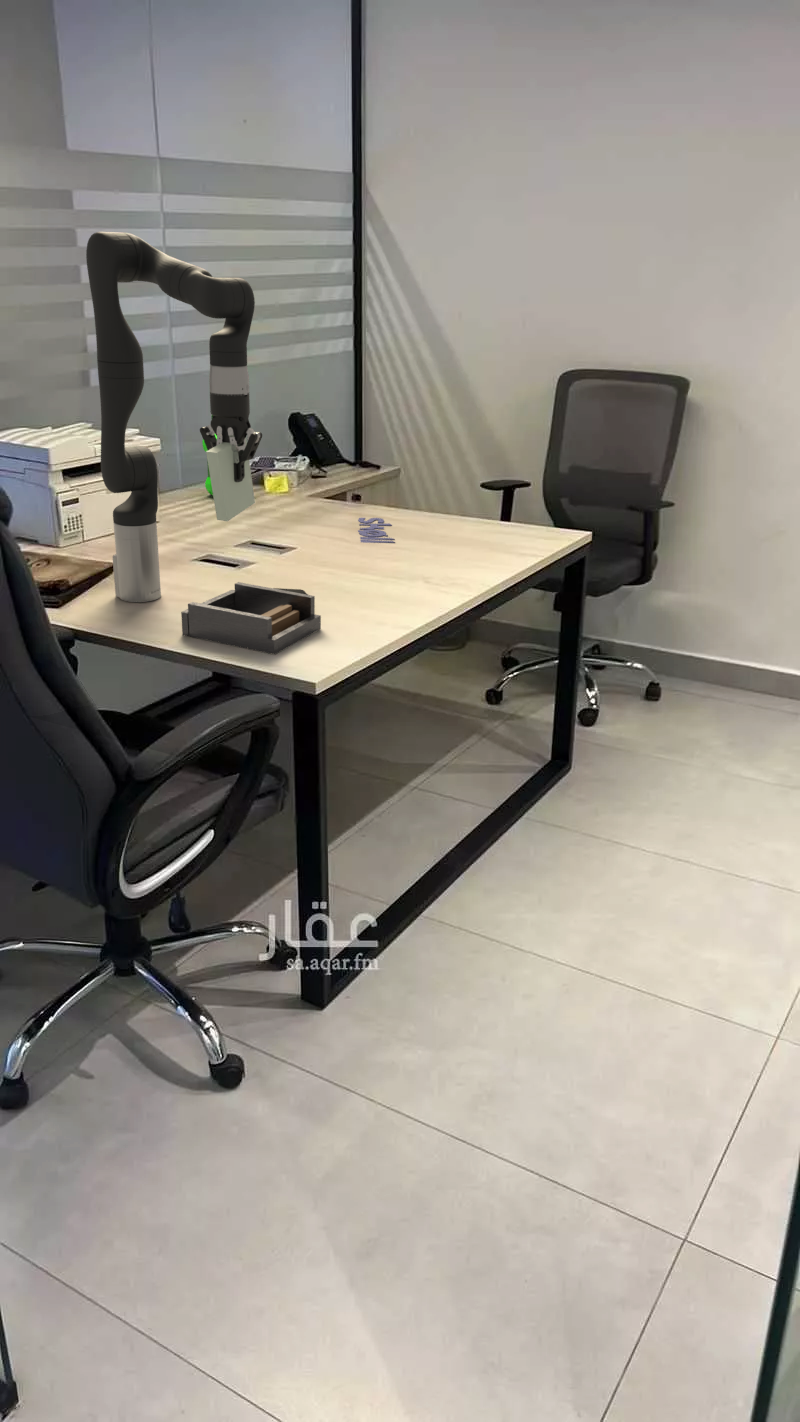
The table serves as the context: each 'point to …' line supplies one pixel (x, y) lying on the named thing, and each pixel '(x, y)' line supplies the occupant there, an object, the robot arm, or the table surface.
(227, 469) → the pale green flat block
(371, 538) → the signage
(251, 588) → the tray
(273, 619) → the offcut stack
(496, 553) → the table surface
